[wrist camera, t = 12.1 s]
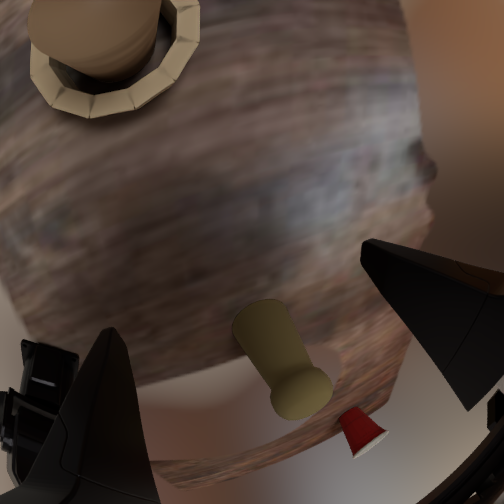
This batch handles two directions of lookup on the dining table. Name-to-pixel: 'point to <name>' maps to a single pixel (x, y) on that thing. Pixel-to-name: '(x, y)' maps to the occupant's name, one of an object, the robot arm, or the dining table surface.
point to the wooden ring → (92, 106)
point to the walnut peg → (96, 34)
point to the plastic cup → (360, 431)
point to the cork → (282, 359)
